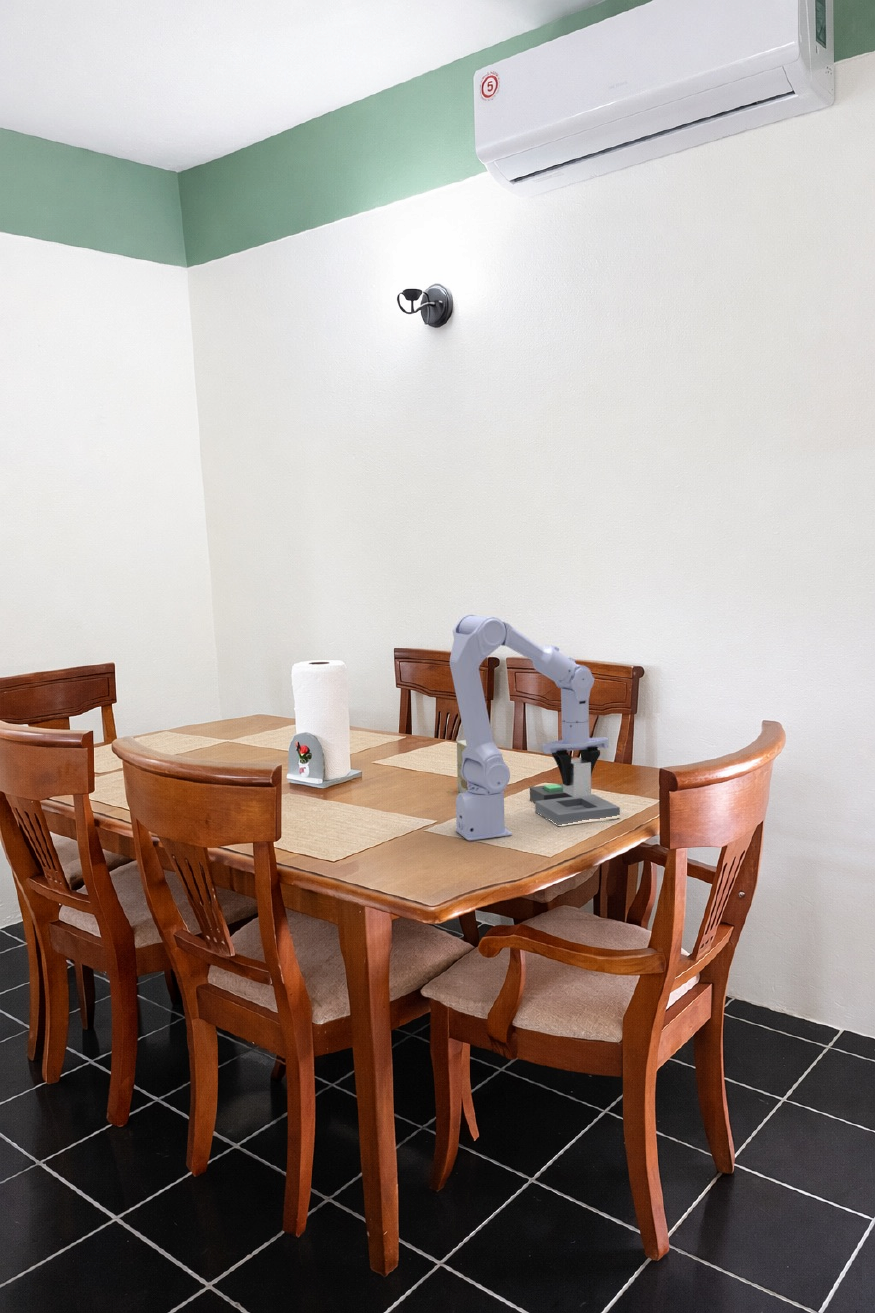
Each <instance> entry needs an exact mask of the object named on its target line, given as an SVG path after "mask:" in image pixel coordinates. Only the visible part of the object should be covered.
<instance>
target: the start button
mask: <svg viewBox="0 0 875 1313" xmlns="http://www.w3.org/2000/svg"><path fill="white" fill-rule="evenodd" d="M558 784H559V783H552V784H546V785H545V784H543V786H544V790H546V791H547V792H555V791H563V787H561V786H560V785H558Z"/></svg>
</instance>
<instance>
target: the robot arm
mask: <svg viewBox="0 0 875 1313" xmlns="http://www.w3.org/2000/svg"><path fill="white" fill-rule="evenodd" d="M452 636H453V643H452V648H451V652H450V657H449V667H450V671H451V676H452V677H451V678H452V682H453V686H454V691H455V696H456V701H457V705H458V710H459V715H460V716H459V717H460V720H461V725H462V730H463V734H464V740H466V745H467V746H466V748H465V749H464V750H463V751H462V758H463V763H462V767H461V773H462V777H463V778H464V780H465V781H466V782H467V788H468V791H466V792H464V793H461V792H459V793H457V795H456V798H455V820H456V822H455V823H456V828H455V832H457V833H459V835H460V836H462V837H463V838H464V839H466V840H467V841H470V842H471V841H475V840H476V841H477V840H485V839H491V838H501V837H507V836H512V835H513V832H512V831H510V830H509V829H508V828H506V827H505V821H506V820H505V795H504V794H505V789H506V787H507V786H508V784H509V782H510V779H511V772H510V768H509V767H508V765H507V763H505V761H504V757H503V754H502V752H501V751H500V749H499V748H498V746H497V745H496V744H495V742H494V738H493V732H492V727H491V724H490V718H489V714H488V708H487V703H486V699H485V692H484V688H483V684H482V678H481V673H480V669H479V668H480V666H481V664H482V663H483V662H484V660H485V659H486V658H487V657H489V656H490V655H491V654H492V653H494V652H495V651H496V650H497V649H498V648H500V647H501V646H502V647H507V648H509V649H510V650H512V651H514V652H516V653H518V654H520V655H521V656H523V657H525V658H527V659H529V660H530V661H532V667H533V669H534V670H535V671H537V672H538V673H540V674H541V675H543V676H545V677H546V678H548V679H550V680H551V681H552V682H554V683H555V685H556V687H557V688H558V689H560V700H561V701H560V702H561V705H560V707H561V708H560V709H561V739H559V740H556V741H555V740H554V741H550V742H544V743H541V744H542V753H543V754H545V755H550V754H551V755H552V758H553V759H554V762H555V763H556V766H557V767H558V771H559V773H560V777H561V781H562V784H564V785H566V786H570V764H571V759H573V756H572V755H570V754H569V752H571V751H573V752H574V751H579V754H580V758H581V759H583V760H586V761H588V762H591V777H592V775H593V772H594V769H595V766H596V764H597V761H598V760H599V758H600V756H601V749H600V748H604V749H607V748H609V745H610V744H609V743H610V741H609V738H608V737H605V736H603V737H590V717H589V716H590V714H589V713H590V711H589V709H590V706H589V704H590V703H589V702H590V701H589V699H590V697H591V696H590V695H591V694H590V693H591V690H592V688H593V686H594V683H595V677H594V676H593V674H592V671H591V669H590V668H589V667H587V666H586V665H582V664H577V663H576V660H575V658H574V657H571V656H569V657H568V656H566V655H565V654H564V653H562V652H561V651H560V647H558V646H556V645H551V646H550V645H544V646H540V645H539V644H537V643H536V642H534V641H533V640H532V639H530V638H529V637H527V636H526V635H524V634H523V633H522V632H520V631H519V630H517V628H515V627H513V626H512V625H511V624H509V623H508V622H506V621H502V620H501V619H500V618H498V617H495V616H489V617H488V616H478V615H473V614H467V615H465V616H463V617H462V618H461V619H459V621H458V622H457V624H456V625H455V626H454V628H453V629H452ZM599 749H600V750H599Z"/></svg>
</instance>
